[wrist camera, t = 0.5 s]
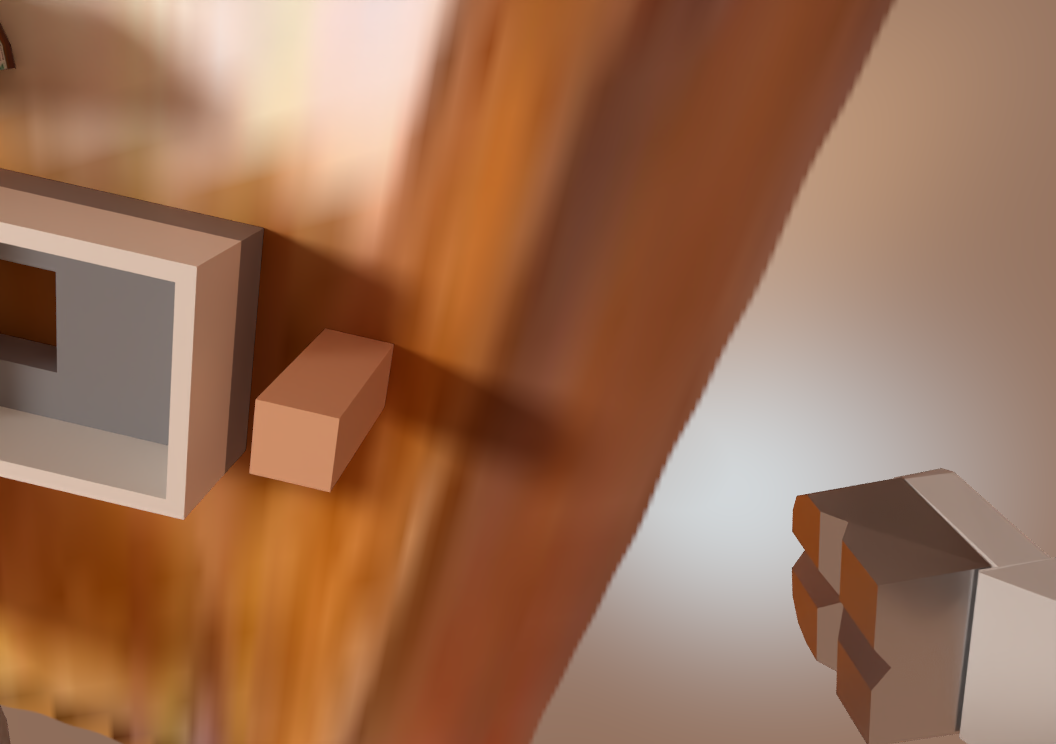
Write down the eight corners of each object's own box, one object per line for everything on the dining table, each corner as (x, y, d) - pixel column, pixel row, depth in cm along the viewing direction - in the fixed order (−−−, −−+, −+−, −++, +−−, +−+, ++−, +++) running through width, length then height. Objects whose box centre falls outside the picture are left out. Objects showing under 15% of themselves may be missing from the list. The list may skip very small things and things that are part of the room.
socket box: (-52, 156, 49) (-174, 182, 41) (264, 228, 48) (196, 266, 41) (-38, 383, 54) (-144, 442, 47) (245, 450, 54) (183, 519, 46)
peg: (325, 328, 50) (255, 399, 41) (393, 344, 50) (339, 418, 41) (318, 391, 52) (249, 473, 42) (384, 406, 52) (329, 492, 42)
